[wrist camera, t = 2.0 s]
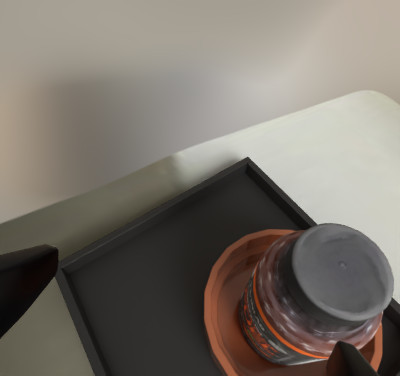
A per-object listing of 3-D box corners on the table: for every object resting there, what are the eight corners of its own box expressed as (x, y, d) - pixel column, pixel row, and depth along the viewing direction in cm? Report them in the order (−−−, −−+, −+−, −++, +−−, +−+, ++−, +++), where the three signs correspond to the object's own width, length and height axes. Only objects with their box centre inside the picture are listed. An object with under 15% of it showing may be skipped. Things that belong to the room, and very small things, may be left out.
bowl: (384, 341, 20) (420, 332, 17) (272, 457, 17) (290, 475, 14) (279, 228, 25) (291, 204, 22) (175, 300, 22) (171, 284, 18)
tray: (423, 346, 20) (440, 343, 19) (196, 602, 14) (195, 627, 12) (245, 167, 29) (247, 156, 28) (59, 273, 23) (50, 266, 22)
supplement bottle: (220, 303, 21) (237, 239, 12) (282, 263, 23) (339, 180, 14) (271, 388, 18) (345, 389, 9) (337, 335, 20) (457, 290, 11)
